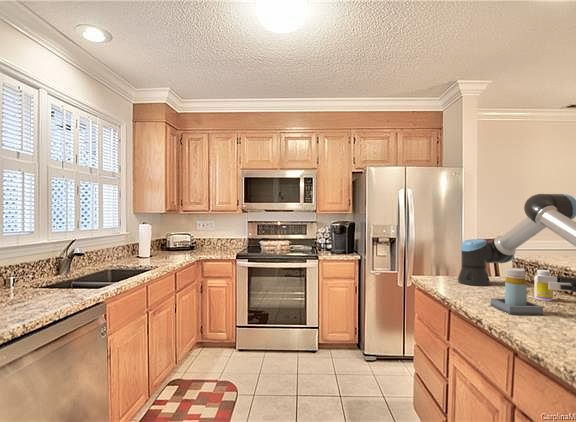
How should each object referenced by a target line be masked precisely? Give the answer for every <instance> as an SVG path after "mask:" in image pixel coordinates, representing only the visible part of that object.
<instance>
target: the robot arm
mask: <svg viewBox="0 0 576 422" xmlns="http://www.w3.org/2000/svg"><path fill="white" fill-rule="evenodd" d="M523 210H524V213H525V215H526V217H525V218H524V219H522V220H521V221H520V222H519V223H518V224H516V225H515V226H514V227H513V228H511V229H510V230H509V231H507V232H506V233H505V234H504V235H498V236H496V237H495V238H493V239H492V240H491V241H490V240H489V241H487V240H486V239H483V238H471V239H466V240H464V241H462V243H461V269H460V272H459V274H458V277H457V282H458V283H459V284H463V285H466V286H467V285H468V286H477V287H478V286H479V287H487V286H490V282H491V280H490V277H489V275H488V272H487V264H506V263H509V262H511V261H512V260H513V259H515V258H514V257H515V254H516V252H517V251H516V250H517V249H518V248H520V246H522V245H523V244H524V243H526V242H527V241H529V240H530V239H532V238H533V237H534V236H536V235H537V234H539V233H541V231H543V230H545V229H546V228H547V229H548V230H550V231H552V232H553V233H554V234H555V235H556V234H557V235H558V236H559V237H561V239H563V240H565V241H567V242H568V243H570V244H571V245H573V246H574V247H576V221H574V220H573V219H575V218H576V199H575V197H573V196H572V195H569V194H564V193H537V194H534V195H531V196H530V197H529V198H528V199H527V200H526V201H525V203H524V207H523ZM537 283H549V290H553V291H564V292H573V293H576V277H569V276H561V275H556V276H551V275H550V276H537Z"/></svg>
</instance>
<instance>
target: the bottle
mask: <svg viewBox="0 0 576 422" xmlns="http://www.w3.org/2000/svg"><path fill="white" fill-rule="evenodd" d="M504 290H505V291H504V299H505V304H508V305H510V306H527V301H528V300H527V298H528V297H527V294H528V293H527V290H528V289H527V280H526V269H525V268H518V267H507V268H506V278H505V281H504Z"/></svg>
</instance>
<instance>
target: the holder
mask: <svg viewBox="0 0 576 422" xmlns="http://www.w3.org/2000/svg"><path fill="white" fill-rule="evenodd" d="M490 306H491V307H492V308H494V309H497V310H499V311H501V312H503V313H505V312H506V313H505V314H507V313H508V314H507V315H509V316H510V315H511V316H513V315H515V316H521V315H522V316H544V307H543V306H541V305H539V304H536V303H533V302H531V301H528V300H527V306H510V305H508V304H505V298H497V297H495V298H490Z"/></svg>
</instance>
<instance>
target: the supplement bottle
mask: <svg viewBox="0 0 576 422" xmlns="http://www.w3.org/2000/svg"><path fill="white" fill-rule="evenodd" d="M537 276H551V270H548V269H547V270H546V269H537V270H536V275H535V276H534V279H533V282H534V283H533V284H534V285H533V289H534V290H533V291H534V292H533V294H534V295H533V298H534V299H535V300H537V301H543V302H553V299H554V290H549V283H537Z"/></svg>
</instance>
